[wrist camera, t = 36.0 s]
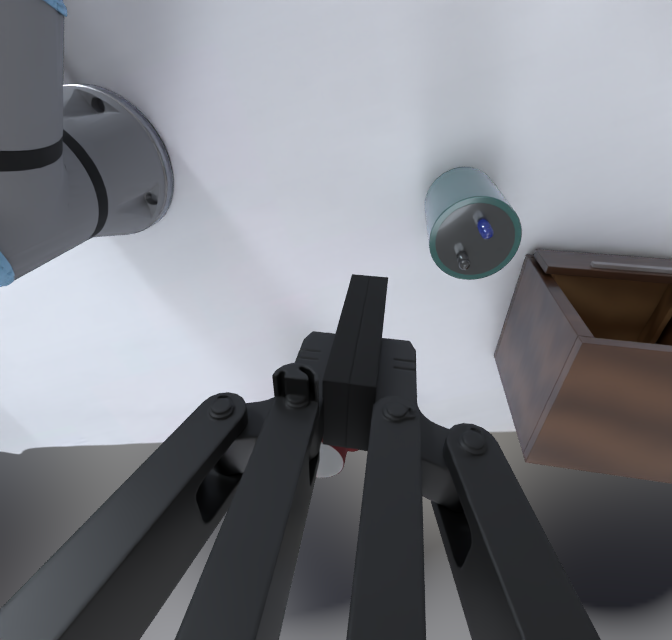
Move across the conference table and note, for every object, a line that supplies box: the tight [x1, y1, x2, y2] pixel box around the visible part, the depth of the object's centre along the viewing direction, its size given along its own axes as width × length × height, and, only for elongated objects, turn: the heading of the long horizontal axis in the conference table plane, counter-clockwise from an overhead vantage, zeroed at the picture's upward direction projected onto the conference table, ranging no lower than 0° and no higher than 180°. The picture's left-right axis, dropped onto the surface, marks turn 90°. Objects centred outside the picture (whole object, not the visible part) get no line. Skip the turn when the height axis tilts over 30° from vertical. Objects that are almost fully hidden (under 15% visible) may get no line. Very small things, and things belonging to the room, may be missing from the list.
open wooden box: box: [494, 255, 672, 484], centre depth 37 cm, size 14×16×16 cm
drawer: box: [534, 249, 672, 344], centre depth 40 cm, size 14×15×4 cm
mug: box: [316, 437, 358, 478], centre depth 54 cm, size 11×8×10 cm
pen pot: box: [425, 167, 522, 280], centre depth 33 cm, size 7×7×13 cm
